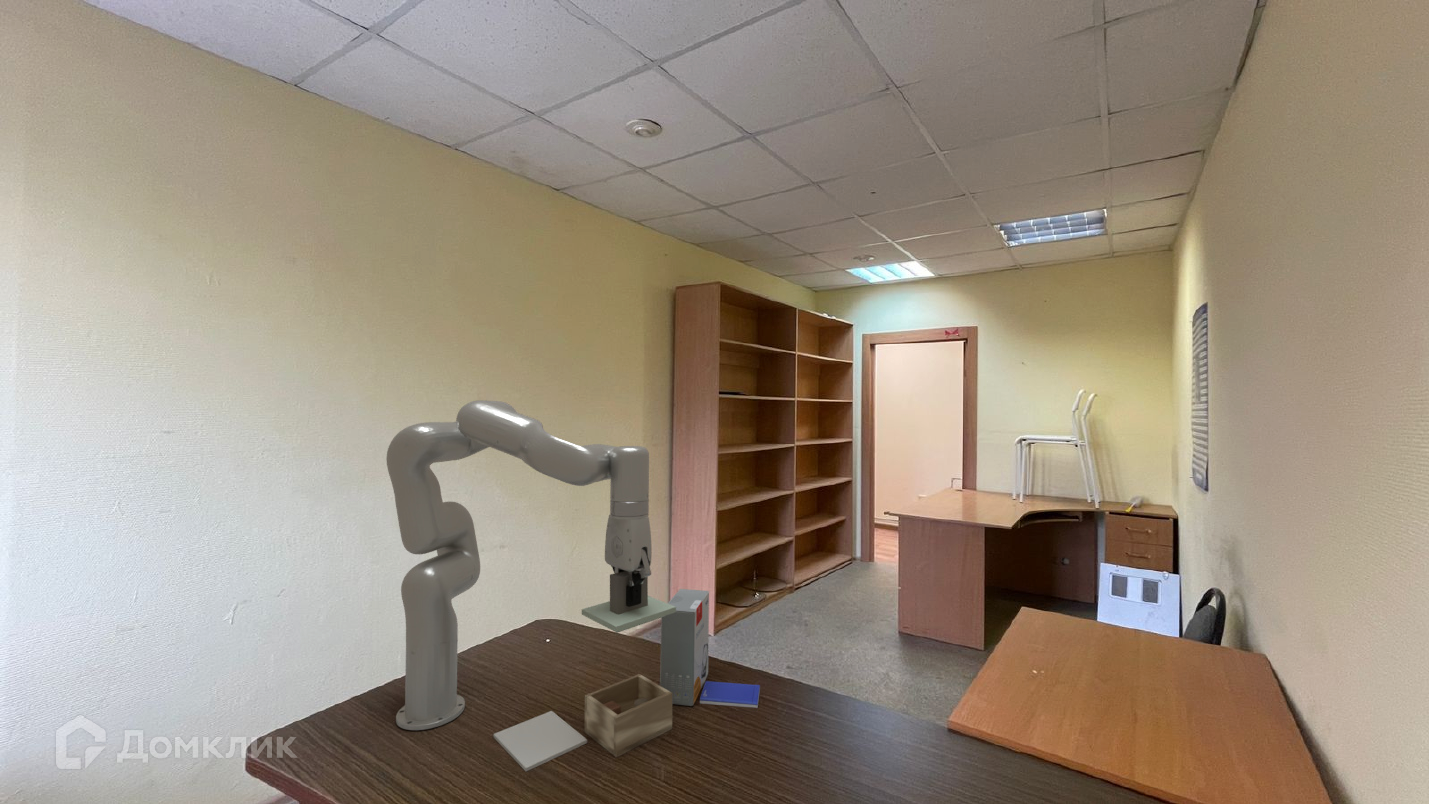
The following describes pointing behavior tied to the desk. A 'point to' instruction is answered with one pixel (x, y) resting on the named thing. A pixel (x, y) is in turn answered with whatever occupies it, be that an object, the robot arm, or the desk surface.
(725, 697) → the hard drive
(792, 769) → the desk surface
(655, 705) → the crate
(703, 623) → the hard drive box
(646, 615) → the lid
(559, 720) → the mat
